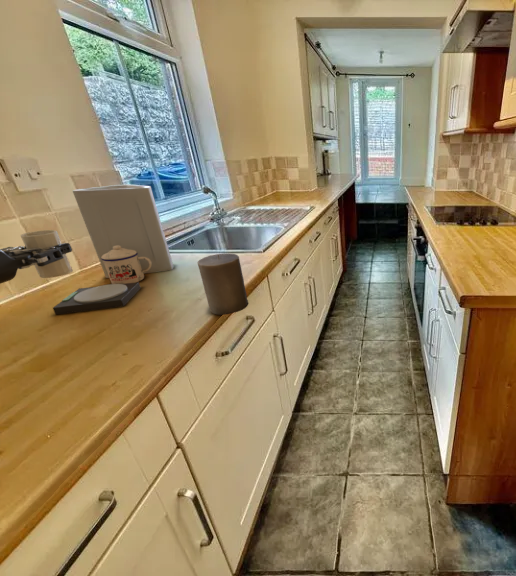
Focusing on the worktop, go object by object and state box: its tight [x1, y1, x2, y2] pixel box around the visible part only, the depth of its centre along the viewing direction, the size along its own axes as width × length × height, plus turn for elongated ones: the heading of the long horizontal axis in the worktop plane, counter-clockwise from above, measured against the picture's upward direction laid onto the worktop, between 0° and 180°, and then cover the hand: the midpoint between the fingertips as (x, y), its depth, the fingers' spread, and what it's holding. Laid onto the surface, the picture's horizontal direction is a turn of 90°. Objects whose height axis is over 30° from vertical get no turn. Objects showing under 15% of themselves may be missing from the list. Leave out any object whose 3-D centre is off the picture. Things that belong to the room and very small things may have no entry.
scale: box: [52, 281, 142, 315], centre depth 90 cm, size 15×13×2 cm
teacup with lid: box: [101, 245, 151, 284], centre depth 102 cm, size 12×9×12 cm
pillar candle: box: [197, 252, 249, 316], centre depth 83 cm, size 10×10×15 cm
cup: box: [20, 229, 74, 279], centre depth 75 cm, size 6×6×10 cm
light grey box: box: [72, 183, 174, 279], centre depth 109 cm, size 19×15×28 cm
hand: (56, 246), depth 77 cm, fingers closed on cup, 6 cm apart
